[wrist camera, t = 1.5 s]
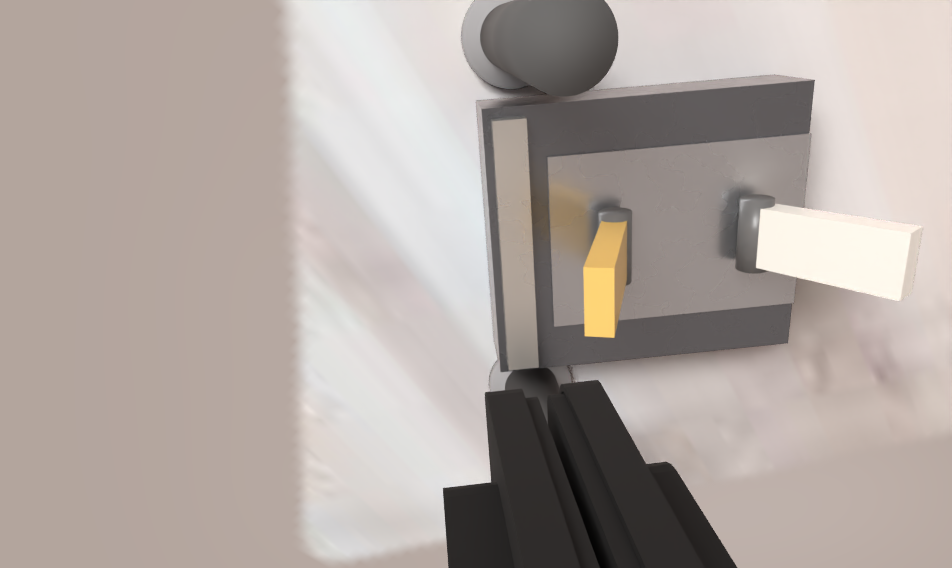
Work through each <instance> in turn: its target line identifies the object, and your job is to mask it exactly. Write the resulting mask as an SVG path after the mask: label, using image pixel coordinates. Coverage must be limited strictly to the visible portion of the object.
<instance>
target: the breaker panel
mask: <svg viewBox="0 0 952 568" xmlns="http://www.w3.org/2000/svg"><path fill="white" fill-rule="evenodd" d="M814 81H815V80H811V79H803V78H795V77H788V76H780V75H765V76H753V77H742V78H730V79H719V80H707V81H696V82H684V83H673V84H661V85H650V86H638V87H627V88H615V89H604V90H592V91H585V92H583V93H581V94H578V95H574V96H568V97H560V96H553V95H549V94H546V95H535V96H523V97H512V98H500V99H489V100H477V101H476V110H477V124H478V137H479V150H480V164H481V177H482V190H483V204H484V217H485V230H486V244H487V257H488V270H489V284H490V297H491V310H492V324H493V337H494V344H495V349H496V353H497V358H498V363H499V367H500V372H508V371H518V370H528V369H538V368H548V367H558V366H567V365H577V364H587V363H597V362H607V361H617V360H627V359H636V358H646V357H656V356H666V355H676V354H686V353H696V352H705V351H715V350H725V349H735V348H745V347H755V346H765V345H775V344H784V343H788V337H789V327H790V317H791V307H792V303H794V298H795V288H796V278H797V277H793V276H789V275H784V274H780V273H776V272H771V271H767V272H764V273H758V274H752V273H744V272H741V271H738V270H737V269H736V268H735V262H736V247H737V232H738V217H739V202H740V197H742V196H745V195H752V194H760V195H769V196H772V197H774V198H775V204H781V205H787V206H794V207H800V208H804V201H805V191H806V181H807V172H808V162H809V152H810V143H811V133H809V131H810V121H811V111H812V101H813V91H814ZM613 207H621V208H628V209H630V210H632V282H631V284H629V285H627V286H625V291H624V295H623V300H622V305H621V310H620V314H619V319H618V324H617V329H616V333H615V338H609V337H591V336H585V324H584V274H583V267H584V265H585V262H586V259H587V257H588V254H589V252H590V249H591V246H592V244H593V241H594V239H595V236H596V234H597V231H598V228H599V226H598V212H599V211H600V210H602V209H605V208H613Z"/></svg>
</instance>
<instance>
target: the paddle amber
mask: <svg viewBox="0 0 952 568" xmlns="http://www.w3.org/2000/svg"><path fill="white" fill-rule="evenodd" d="M598 226H599V228H598V231H597V234H596V236H595V239H594V241H593V244H592V246H591V249H590V252H589V254H588V257H587V259H586V262H585V265H584V267H583V274H584V324H585V336H591V337H609V338H615V333H616V329H617V324H618V319H619V314H620V310H621V305H622V300H623V295H624V291H625V286H627V285H629V284H631V282H632V210H630V209H628V208H621V207H613V208H605V209H602V210H600V211H599V212H598Z"/></svg>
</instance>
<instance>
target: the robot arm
mask: <svg viewBox="0 0 952 568" xmlns="http://www.w3.org/2000/svg"><path fill="white" fill-rule="evenodd" d="M485 405H486V418H487V431H488V444H489V458H490V471H491V483H483V484H474V485H466V486H458V487H449V488H443V496H444V510H445V524H446V538H447V552H448V566H449V568H737V567H736V565H735V563H734V562H733V560H732V559H731V557H730V556H729V554H728V552H727V551H726V549H725V547H724V546H723V544H722V543H721V541H720V539H719V538H718V536H717V535H716V533H715V531H714V530H713V528H712V527H711V525H710V523H709V522H708V520H707V519H706V517H705V516H704V514H703V512H702V511H701V509H700V508H699V506H698V505H697V503H696V501H695V500H694V498H693V496H692V495H691V493H690V492H689V490H688V488H687V487H686V485H685V484H684V482H683V480H682V479H681V477H680V476H679V474H678V472H677V471H676V469H675V468H674V467H673V466H672V465H671V464H670V463H668V462H661V463H653V464H646V463H645V461H644V459H643V458H642V456H641V454H640V452H639V450H638V449H637V447H636V445H635V443H634V442H633V440H632V438H631V436H630V434H629V433H628V431H627V429H626V427H625V426H624V424H623V422H622V420H621V419H620V417H619V415H618V413H617V411H616V410H615V408H614V406H613V404H612V403H611V401H610V399H609V397H608V395H607V394H606V392H605V390H604V388H603V387H602V385H601V383H600V382H599V381H598V380H593V381H584V382H575V383H566V384H561V385H560V390H559V394H555V395H548V398H547V413H548V424H547V421H546V418H545V415H544V413H543V410H542V407H541V404H540V401H539V399H538V397H528V398H525V395H524V392H523V390H522V389H521V388H520V389H511V390H502V391H493V392H485Z"/></svg>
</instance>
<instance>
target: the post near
mask: <svg viewBox="0 0 952 568" xmlns="http://www.w3.org/2000/svg"><path fill="white" fill-rule="evenodd" d="M461 41H462V48H463V52H464V55H465V57H466V60H467V62H468V63H469V65H470V67H471V68H472V69H473V71H474V72H475V73H476V74H477V75H478V76H479V77H480V78H482V79H483V80H484V81H486V82H488V83H489V84H491V85H494V86H496V87H500V88H506V89H516V88H522V87H525V86H528V85H531V86H533V87H535V88H536V89H538V90H540V91H542V92H544V93H546V94H549V95H553V96H560V97H568V96H574V95H578V94H581V93H583V92H585V91H588V90H589V89H591V88H592V87H594V86H595V85H596V84H598V83H599V82H600V81H601V80H602V79H603V78H604V76H605V75H606V74H607V72H608V71H609V69H610V67H611V66H612V63H613V61H614V59H615V56H616V52H617V47H618V29H617V23H616V20H615V17H614V15H613V13H612V11H611V9H610V7H609V6H608V4H607V3H606V2H605V1H604V0H474V1H473V3H472V4H471V6H470V7H469V9H468V11H467V13H466V15H465V18H464V21H463V25H462V32H461Z"/></svg>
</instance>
